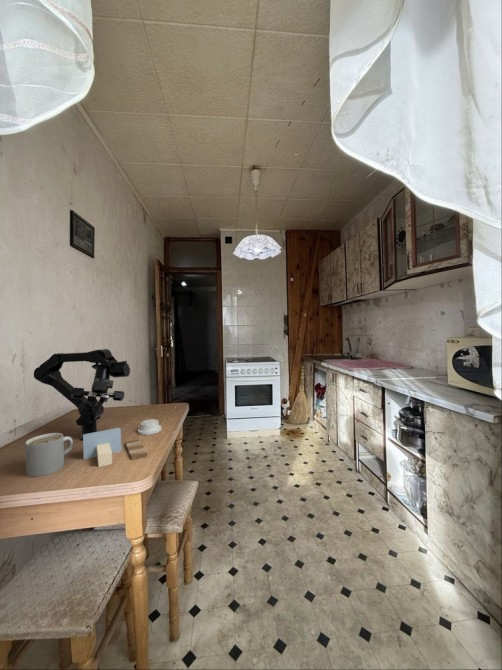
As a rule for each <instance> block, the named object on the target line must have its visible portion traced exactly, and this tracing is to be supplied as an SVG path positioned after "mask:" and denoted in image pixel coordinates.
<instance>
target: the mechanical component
mask: <svg viewBox="0 0 502 670" xmlns="http://www.w3.org/2000/svg"><path fill="white" fill-rule="evenodd" d="M161 431H162V425H160V424H159V420H158V419H153V418H151V419H145V420H142V421H141V422H140V427H138V429H137V434H139V435H142V436H143V435H144V436H149V435H153V434H156V433H159V432H161Z"/></svg>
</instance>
